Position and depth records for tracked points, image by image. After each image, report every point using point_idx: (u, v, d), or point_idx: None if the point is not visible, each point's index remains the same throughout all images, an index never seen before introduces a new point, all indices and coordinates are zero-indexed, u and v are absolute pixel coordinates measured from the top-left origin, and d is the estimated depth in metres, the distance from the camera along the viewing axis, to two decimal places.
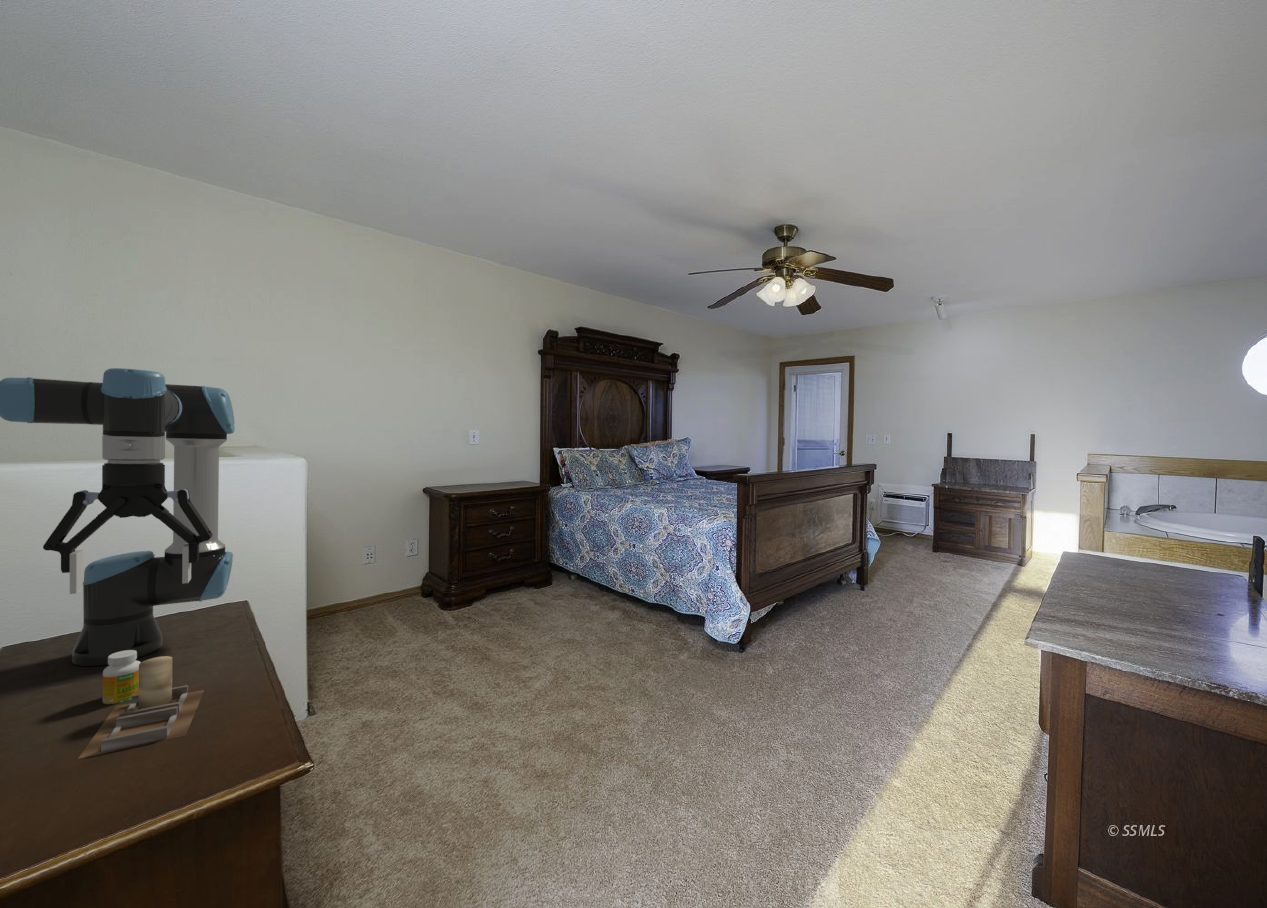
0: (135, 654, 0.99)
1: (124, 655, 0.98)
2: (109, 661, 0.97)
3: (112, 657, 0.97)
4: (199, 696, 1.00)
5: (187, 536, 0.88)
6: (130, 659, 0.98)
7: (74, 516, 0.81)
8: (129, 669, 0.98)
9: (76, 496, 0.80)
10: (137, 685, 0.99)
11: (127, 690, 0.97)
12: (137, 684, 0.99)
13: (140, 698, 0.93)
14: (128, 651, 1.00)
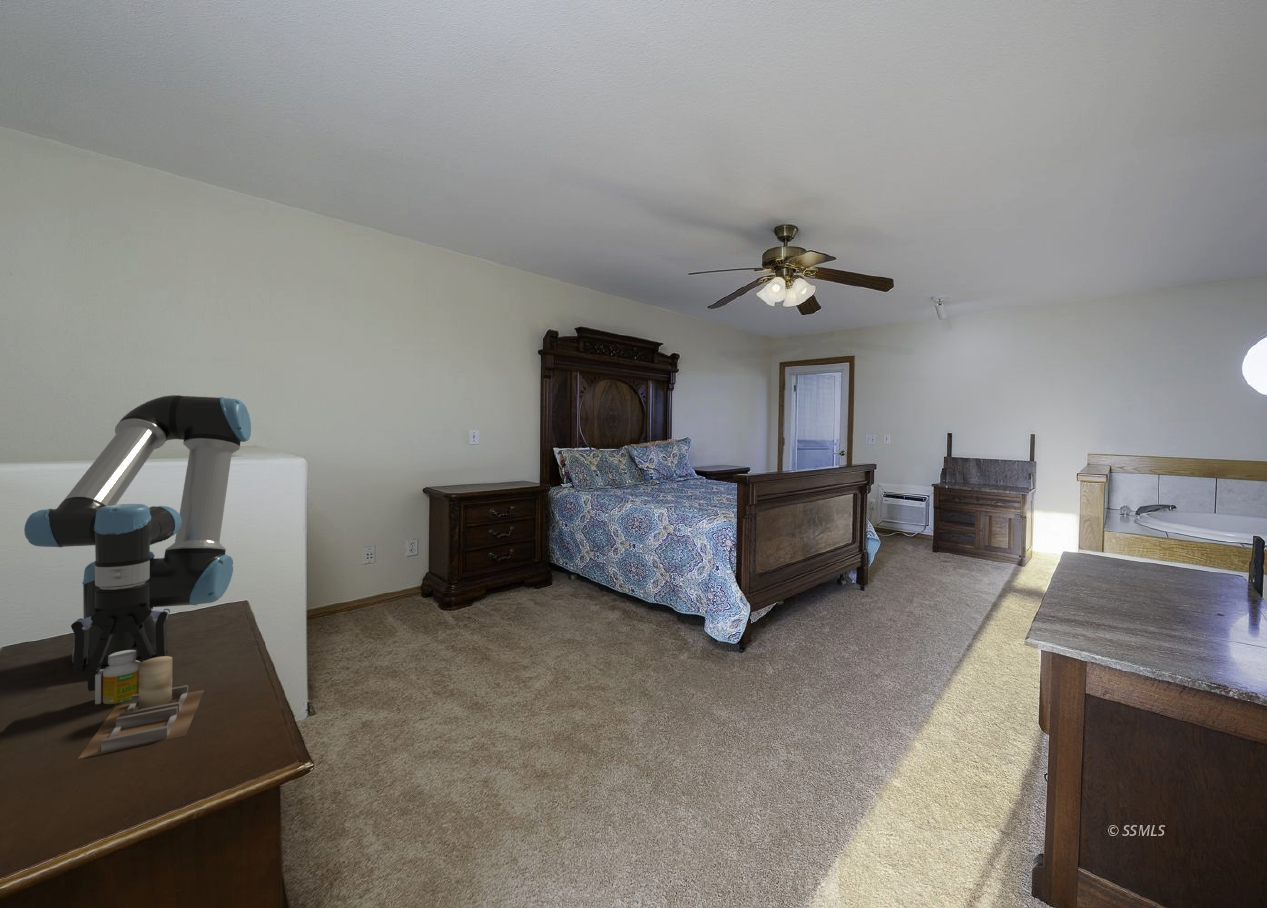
0: (135, 654, 0.99)
1: (124, 655, 0.98)
2: (109, 661, 0.97)
3: (112, 657, 0.97)
4: (199, 696, 1.00)
5: (147, 657, 1.00)
6: (130, 659, 0.98)
7: (82, 641, 0.95)
8: (129, 669, 0.98)
9: (74, 627, 0.94)
10: (137, 685, 0.99)
11: (127, 690, 0.97)
12: (137, 684, 0.99)
13: (140, 698, 0.93)
14: (128, 651, 1.00)
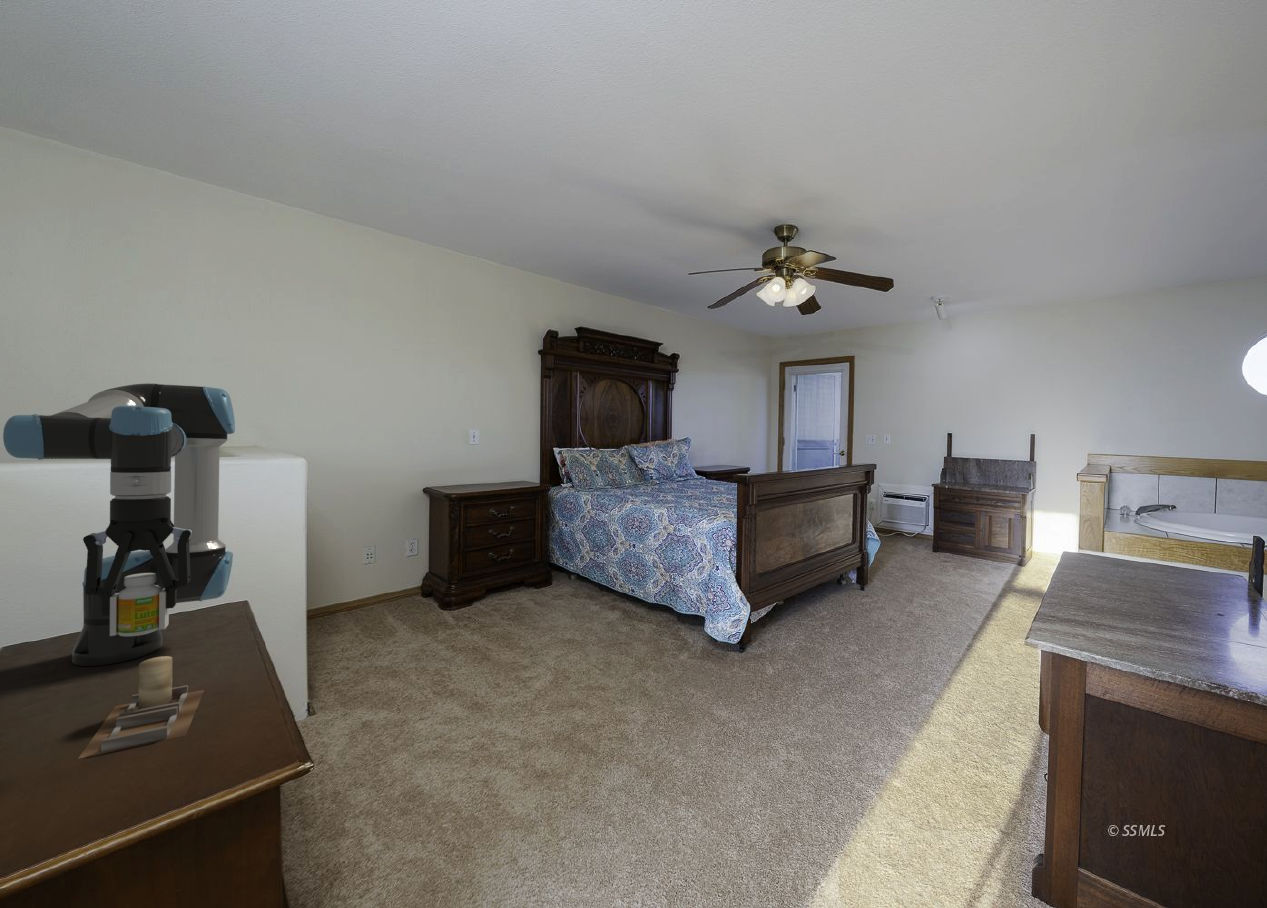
0: (154, 576, 0.88)
1: (142, 576, 0.86)
2: (125, 582, 0.85)
3: (129, 578, 0.85)
4: (199, 696, 1.00)
5: (168, 580, 0.88)
6: (149, 581, 0.87)
7: (96, 558, 0.83)
8: (148, 592, 0.86)
9: (86, 540, 0.82)
10: (157, 611, 0.87)
11: (145, 616, 0.86)
12: (157, 610, 0.87)
13: (140, 698, 0.93)
14: (146, 574, 0.88)
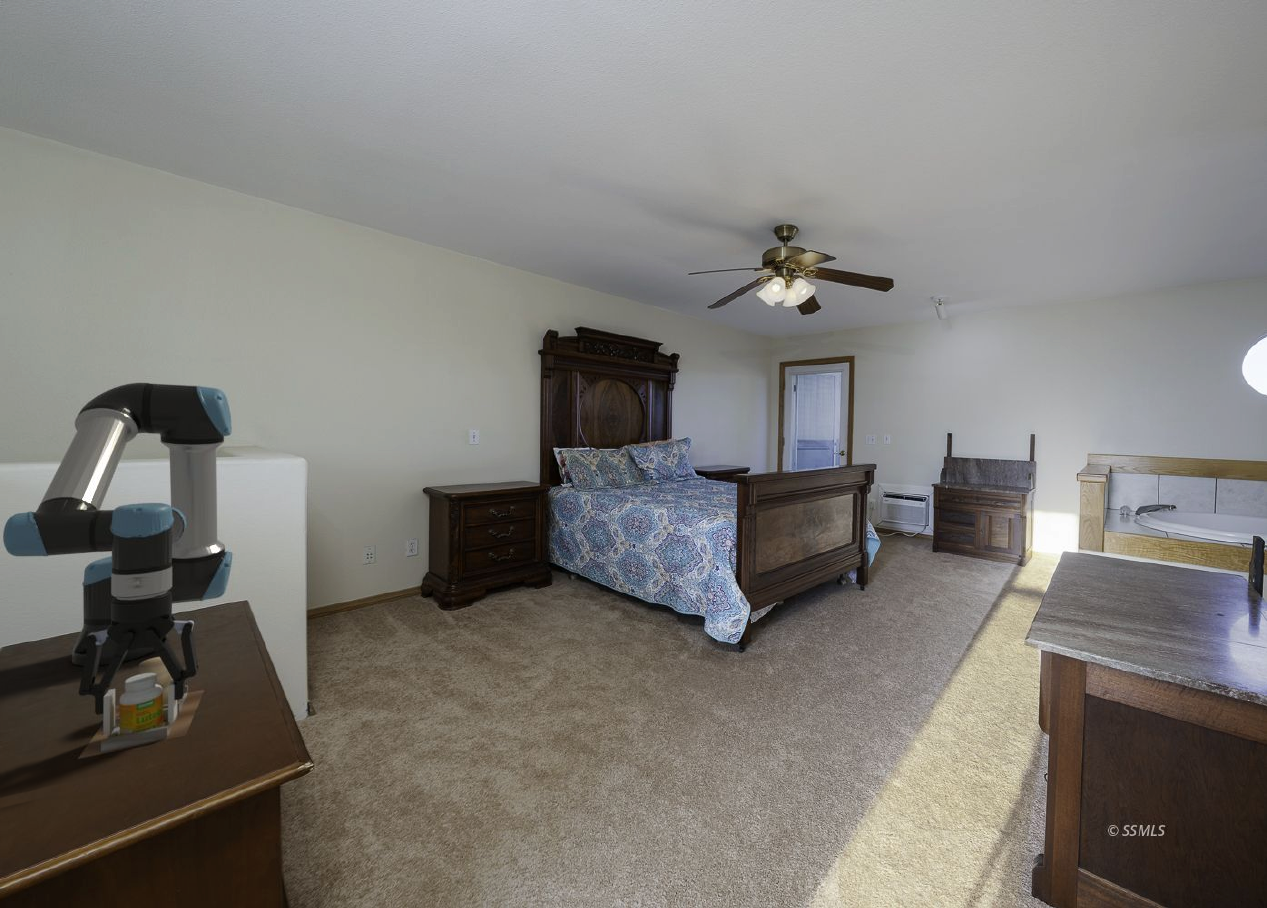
0: (155, 678, 0.88)
1: (143, 679, 0.87)
2: (126, 687, 0.85)
3: (130, 682, 0.86)
4: (199, 696, 1.00)
5: (175, 673, 0.89)
6: (150, 684, 0.87)
7: (94, 658, 0.83)
8: (149, 695, 0.86)
9: (87, 641, 0.83)
10: (158, 713, 0.88)
11: (147, 719, 0.86)
12: (158, 712, 0.88)
13: None
14: (147, 675, 0.88)
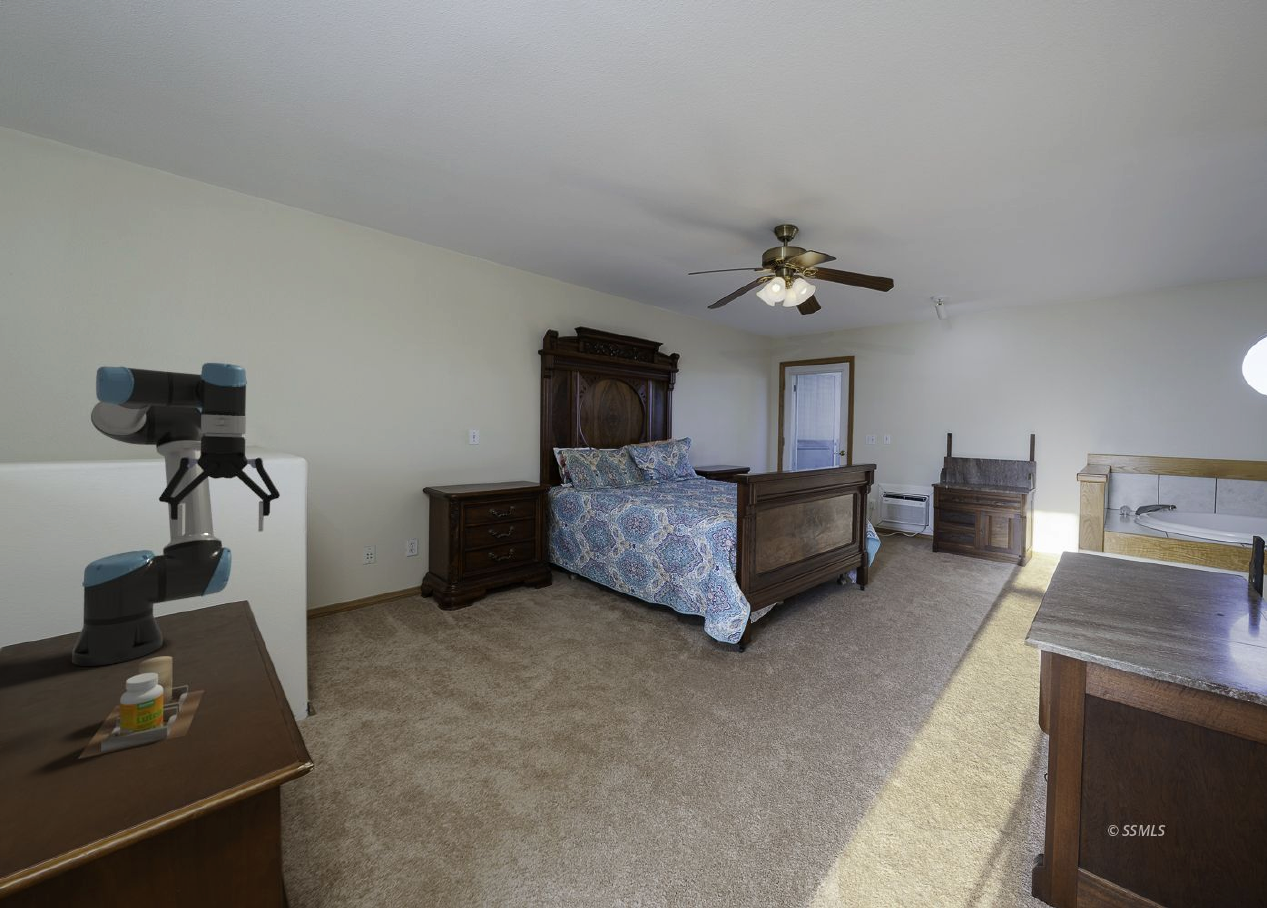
0: (156, 678, 0.88)
1: (144, 679, 0.87)
2: (127, 686, 0.85)
3: (131, 682, 0.86)
4: (199, 696, 1.00)
5: (262, 494, 1.12)
6: (151, 684, 0.87)
7: (181, 476, 1.05)
8: (150, 695, 0.86)
9: (182, 461, 1.05)
10: (159, 713, 0.88)
11: (147, 719, 0.86)
12: (159, 712, 0.88)
13: None
14: (148, 675, 0.88)
